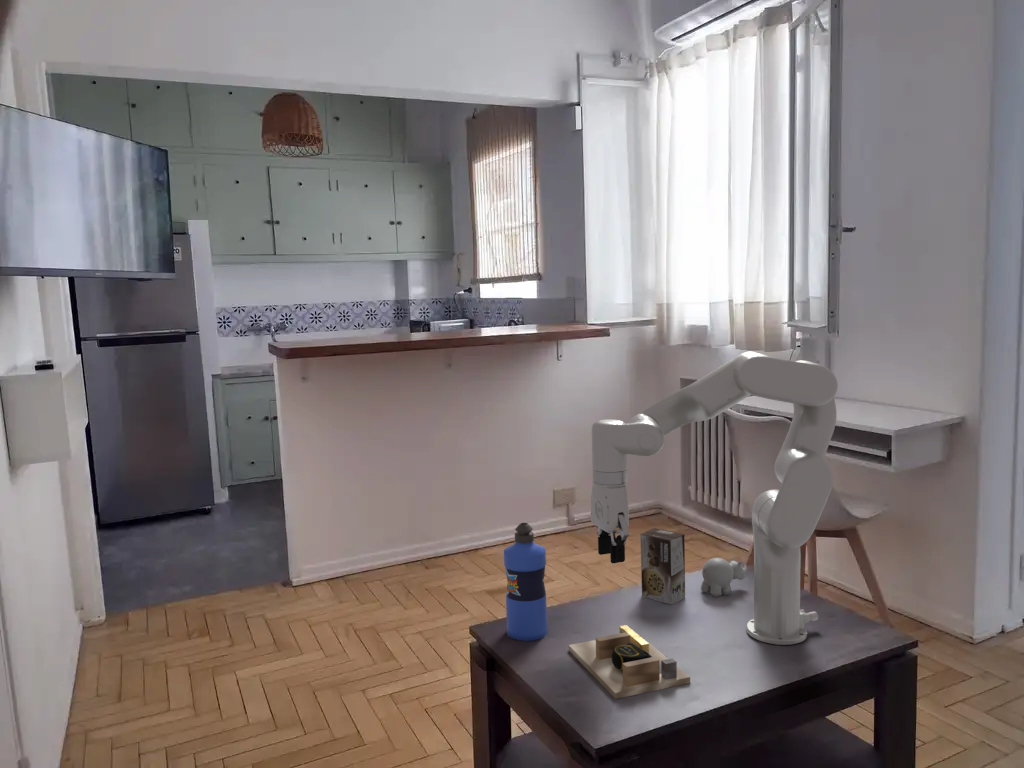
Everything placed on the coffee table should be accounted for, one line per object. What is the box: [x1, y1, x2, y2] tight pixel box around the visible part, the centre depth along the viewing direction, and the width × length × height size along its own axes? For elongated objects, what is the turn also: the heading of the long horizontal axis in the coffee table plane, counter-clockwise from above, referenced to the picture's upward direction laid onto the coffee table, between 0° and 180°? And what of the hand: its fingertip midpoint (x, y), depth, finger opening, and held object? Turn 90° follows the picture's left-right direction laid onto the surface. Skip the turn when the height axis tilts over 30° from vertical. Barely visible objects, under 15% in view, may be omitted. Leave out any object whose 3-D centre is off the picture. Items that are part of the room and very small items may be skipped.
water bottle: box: [503, 522, 548, 642], centre depth 178 cm, size 9×9×25 cm
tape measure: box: [612, 643, 651, 671], centre depth 158 cm, size 7×7×4 cm
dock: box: [568, 631, 691, 700], centre depth 162 cm, size 16×22×5 cm
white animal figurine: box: [700, 557, 747, 597], centre depth 199 cm, size 8×12×9 cm, turn 111°
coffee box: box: [639, 527, 686, 605], centre depth 196 cm, size 9×6×16 cm
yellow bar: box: [619, 624, 649, 653], centre depth 168 cm, size 2×10×2 cm, turn 19°
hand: (611, 557), depth 175 cm, fingers open, 5 cm apart
